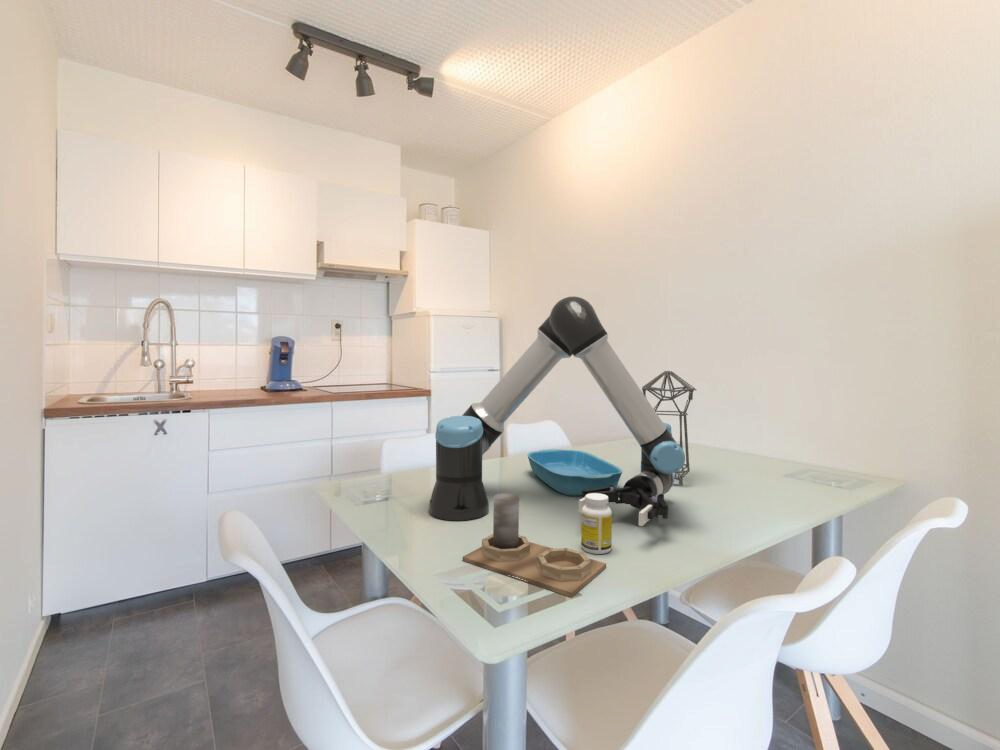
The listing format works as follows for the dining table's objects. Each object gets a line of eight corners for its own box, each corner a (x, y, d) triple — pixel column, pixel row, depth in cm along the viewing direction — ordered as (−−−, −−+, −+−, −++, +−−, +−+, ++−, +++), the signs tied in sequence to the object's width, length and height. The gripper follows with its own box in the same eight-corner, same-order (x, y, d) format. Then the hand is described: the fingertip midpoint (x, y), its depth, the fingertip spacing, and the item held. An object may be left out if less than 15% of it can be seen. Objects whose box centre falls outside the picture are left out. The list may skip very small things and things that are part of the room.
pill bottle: (607, 542, 104) (608, 491, 104) (614, 554, 98) (616, 500, 97) (578, 542, 104) (579, 491, 103) (584, 555, 98) (585, 500, 97)
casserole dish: (635, 497, 138) (635, 472, 137) (562, 503, 131) (562, 477, 131) (578, 467, 173) (578, 447, 173) (518, 470, 167) (519, 450, 166)
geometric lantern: (640, 485, 149) (641, 371, 148) (641, 474, 164) (642, 370, 163) (696, 489, 144) (697, 371, 144) (691, 477, 159) (692, 370, 159)
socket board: (462, 560, 95) (462, 500, 94) (504, 538, 106) (504, 484, 105) (571, 597, 81) (572, 527, 80) (606, 567, 92) (607, 505, 92)
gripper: (694, 514, 115) (668, 543, 97) (595, 495, 129) (557, 518, 112) (695, 483, 114) (668, 506, 97) (596, 467, 129) (557, 485, 111)
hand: (609, 512), depth 104 cm, fingers open, 13 cm apart
